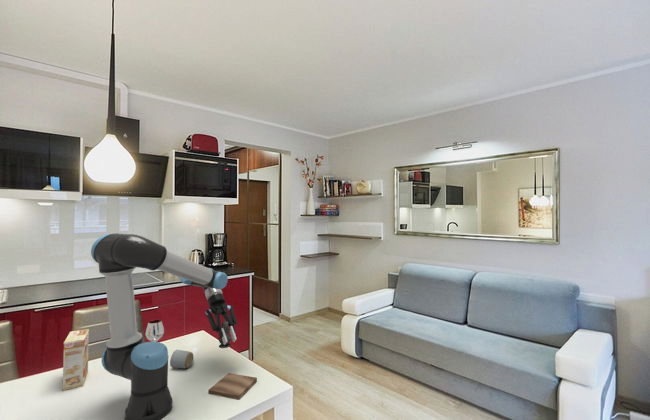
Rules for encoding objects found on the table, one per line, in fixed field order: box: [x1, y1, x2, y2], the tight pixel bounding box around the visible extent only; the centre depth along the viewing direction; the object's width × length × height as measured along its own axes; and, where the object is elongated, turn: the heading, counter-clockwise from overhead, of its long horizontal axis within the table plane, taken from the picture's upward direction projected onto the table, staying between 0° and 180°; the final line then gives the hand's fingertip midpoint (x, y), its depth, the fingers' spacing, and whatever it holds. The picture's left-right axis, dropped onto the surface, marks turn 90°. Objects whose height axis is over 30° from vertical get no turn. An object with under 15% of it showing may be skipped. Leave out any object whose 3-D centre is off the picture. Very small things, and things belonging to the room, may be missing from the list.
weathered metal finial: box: [217, 319, 232, 349], centre depth 143 cm, size 6×6×12 cm
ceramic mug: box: [169, 349, 195, 369], centre depth 148 cm, size 11×8×8 cm
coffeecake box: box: [62, 328, 90, 392], centre depth 135 cm, size 15×7×20 cm, turn 31°
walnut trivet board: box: [207, 372, 258, 400], centre depth 130 cm, size 14×14×2 cm
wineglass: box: [145, 319, 165, 342], centre depth 156 cm, size 8×8×18 cm
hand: (230, 341), depth 139 cm, fingers closed on weathered metal finial, 4 cm apart
